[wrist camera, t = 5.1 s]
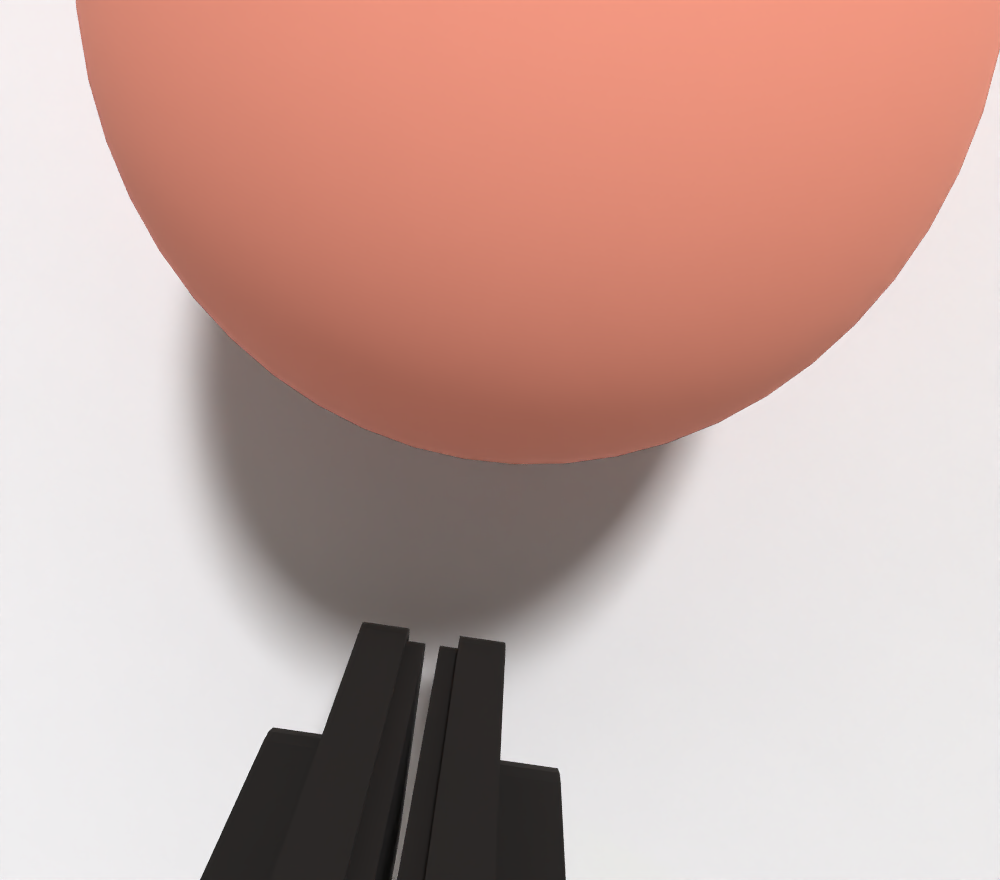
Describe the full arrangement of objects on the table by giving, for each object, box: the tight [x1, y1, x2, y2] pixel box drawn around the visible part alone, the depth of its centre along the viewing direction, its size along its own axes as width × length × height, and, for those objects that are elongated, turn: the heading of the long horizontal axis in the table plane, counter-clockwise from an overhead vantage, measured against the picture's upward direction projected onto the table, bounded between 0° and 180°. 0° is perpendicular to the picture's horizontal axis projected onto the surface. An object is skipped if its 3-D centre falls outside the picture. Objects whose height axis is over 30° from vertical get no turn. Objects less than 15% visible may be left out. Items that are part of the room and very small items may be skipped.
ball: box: [76, 0, 1000, 464], centre depth 6 cm, size 6×6×6 cm
